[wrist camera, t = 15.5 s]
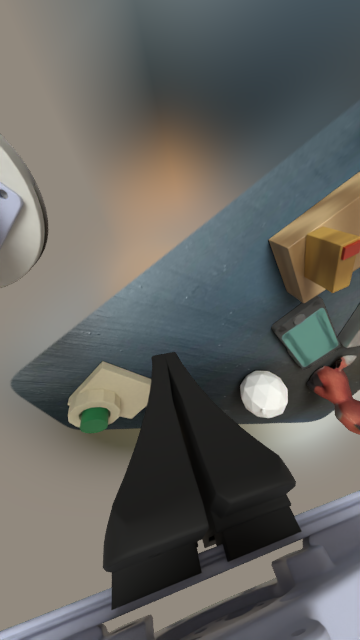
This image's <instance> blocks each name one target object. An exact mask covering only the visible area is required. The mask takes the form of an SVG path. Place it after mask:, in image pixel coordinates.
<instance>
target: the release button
mask: <svg viewBox="0 0 360 640" xmlns="http://www.w3.org/2000/svg"><path fill="white" fill-rule="evenodd" d="M108 414H109V411H108V409H107V408H103V407H92V408H89V409H86V410H84V411H83V412H82V416H81V422H80V430H81V431H82V432H85V433H97V432H100V431H103V430H104V429H106V428H107V426H108Z"/></svg>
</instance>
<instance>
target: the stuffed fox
mask: <svg viewBox="0 0 360 640" xmlns="http://www.w3.org/2000/svg"><path fill="white" fill-rule="evenodd" d="M356 357H357V356H350V355H347V356H343V357H341V358H340V359H338V360H341V359H342V361H338V360H336V362H337V364H336V362H335V363H334V365H333V366H332V368H330V367H328V366H327V367H326V366H325V365H324V367H323V368H320V369H319V370H317V371H315V372H314V374H313V375H312V376H311V378H310V381H308V382H307V385H308V387H309V388H310V389H311V390H312V391H313V392H315V393H316V394H318V395H319V396H321V397H323V398H325V399H327V400H329V401H331V402H332V403H333V404H334V405H335V416H336V418H337V419H338V420H339V421H340V422H341V423H342V424H343V425H344V426H345V427H346V428H347V429H348V430H350V431H352V432H354V433H356V434H360V401H357V400H355V399H353V397H352V394H351V390H350V387H349V383H348V378H347V376H346V374H345V372H344V371H343V370H342V369H343V368H345V367H346V366H348V365H350V364H351V363H352V362H353V361H354V360H355V359H356ZM336 365H337V366H336Z"/></svg>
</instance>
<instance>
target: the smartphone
mask: <svg viewBox="0 0 360 640" xmlns="http://www.w3.org/2000/svg"><path fill="white" fill-rule="evenodd" d="M271 329H272V330H273V331H274V333H275V334H276V335H277V337H278V338H279V339H280V341H281V342H282V343H283V344H284V346H285V347H286V348H287V352H288V353H289V354H290V355H291V357H292V358H293V359H294V360H295V362H296V363H297V364H298V365H299V366H301V367H302V368H303V370H306V369H308V368H309V367H311V366H312V365H314V364H316V363H317V362H319V361H320V360H322V359H323V358H325V357H326V356H328V355H330V354H331V353H333V352H334V351H336V350H337V349H339V348H340V346H341V345H340V342H339V340H338V337H337V335H336V332H335V330H334V327H333V325H332V322H331V320H330V317H329V315H328V312H327V309H326V307H325V304H324V302H323V299H322V298H320V297H318V296H317V295H316V296H315V297H313V298H312V299H310V300H309V301H307V302H306V303H301V304H300V305H299V306H297V307H296V308H295V309H293V310H292V311H291V312H289V313H288V314H286V315H285V316H284V317H282V318H281V319H280V320H278V321H277V322H276V323H274V324H273V325H272V327H271Z"/></svg>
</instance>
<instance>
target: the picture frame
mask: <svg viewBox="0 0 360 640" xmlns="http://www.w3.org/2000/svg"><path fill="white" fill-rule="evenodd" d="M338 340H339V342H340V343H341V344H342V345H343V346H344V347H346V348H350V347H355V346H360V304H359V306H358V307H357V309H356V310H355V312H354V313H353V315H352V316H351V318H350V319H349V321H348V322H347V324H346V325H345V327H344V328H343V330H342V331H341V333H340V334H339V336H338Z"/></svg>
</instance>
